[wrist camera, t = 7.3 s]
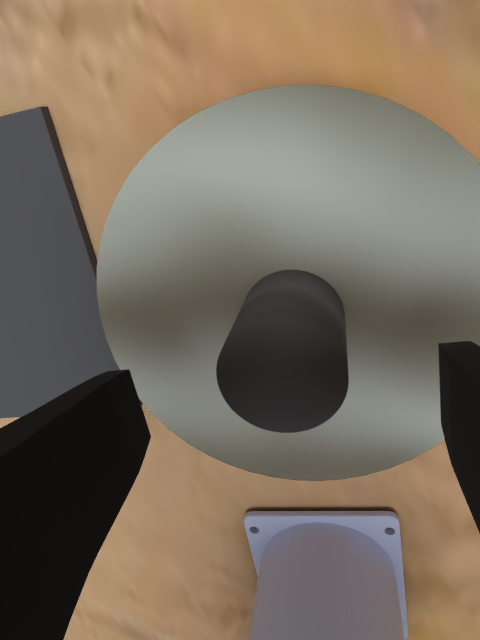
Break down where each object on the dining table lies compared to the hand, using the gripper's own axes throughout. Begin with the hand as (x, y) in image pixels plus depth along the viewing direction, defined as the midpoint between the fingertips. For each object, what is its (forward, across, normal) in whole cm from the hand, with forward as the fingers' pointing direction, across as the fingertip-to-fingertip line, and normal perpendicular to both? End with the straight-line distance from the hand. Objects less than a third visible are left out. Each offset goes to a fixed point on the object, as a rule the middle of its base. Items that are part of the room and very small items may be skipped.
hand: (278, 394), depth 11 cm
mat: (+9, +16, -1) cm, 19 cm away
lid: (+5, 0, 0) cm, 5 cm away
